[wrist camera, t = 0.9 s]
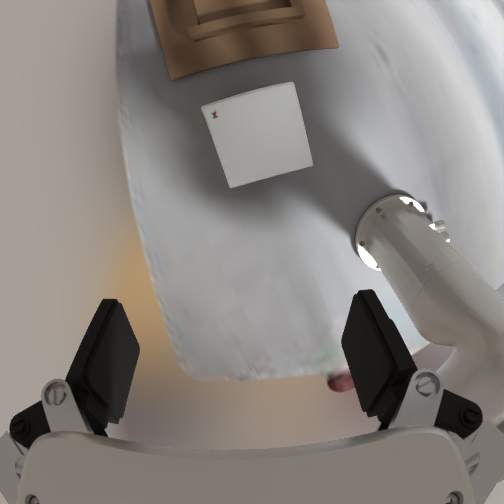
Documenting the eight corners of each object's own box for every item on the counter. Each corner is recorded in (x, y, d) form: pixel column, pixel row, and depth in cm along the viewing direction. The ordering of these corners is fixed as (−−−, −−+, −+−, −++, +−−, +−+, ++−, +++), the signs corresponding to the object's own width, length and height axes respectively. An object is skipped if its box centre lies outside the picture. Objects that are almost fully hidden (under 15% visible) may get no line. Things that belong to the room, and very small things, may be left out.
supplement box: (233, 159, 33) (226, 191, 22) (215, 103, 29) (197, 104, 18) (291, 144, 32) (315, 168, 21) (276, 87, 28) (293, 78, 17)
